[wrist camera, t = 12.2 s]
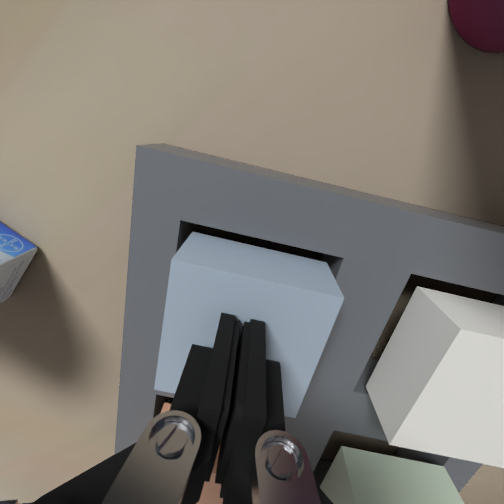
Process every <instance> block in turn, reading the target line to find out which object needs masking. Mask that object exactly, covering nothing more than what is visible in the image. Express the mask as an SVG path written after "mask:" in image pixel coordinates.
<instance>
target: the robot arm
mask: <svg viewBox="0 0 504 504" xmlns="http://www.w3.org/2000/svg"><path fill="white" fill-rule="evenodd" d="M239 327H240V320H236V319H235V315H232V314H227V313H222V312H221V316H220V321H219V325H218V329H217V333H216V337H215V342H214V346H213V348H210V347H205V346H200V345H196V344H192V346H191V349H190V352H189V354H188V357H187V360H186V363H185V366H184V369H183V372H182V375H181V378H180V381H179V384H178V387H177V389H176V392H175V395H174V398H173V401H172V404H171V407H170V410H169V411H166V412H163V413H161V414H158V415H157V416H156V417H154V418H153V419H152V420H151V421H150V422H149V423H148V425H147V426H146V427H145V429H144V431H143V432H142V434H141V436H140V438H139V439H138V441H137V442H136V443H134V444H132V445H131V446H129V447H127V448H125V449H124V450H122V451H120V452H118V453H117V454H115V455H113V456H111V457H110V458H108V459H106V460H104V461H103V462H101V463H99V464H97V465H96V466H94V467H92V468H90V469H89V470H87V471H85V472H83V473H82V474H80V475H78V476H76V477H75V478H73V479H71V480H69V481H68V482H66V483H64V484H62V485H61V486H59V487H57V488H55V489H54V490H52V491H50V492H48V493H47V494H45V495H43V496H42V497H40V498H39V499H38V500H36V501H35V502H32V503H22V504H196V503H197V502H199V500H200V497H201V493H202V489H203V485H204V482H205V481H206V482H209V481H210V478H211V474H212V471H213V467H214V464H215V460H216V456H217V453H218V449H219V455H218V462H217V469H216V476H215V483H217V484H221V490H220V498H223V504H333V502H332V501H331V500H330V499H329V498H328V497H327V496H326V494H325V493H324V492H323V491H322V490H321V489H320V488H319V486H318V485H317V484H316V483H315V479H314V475H313V472H312V468H311V464H310V461H309V457H308V455H307V453H306V450H305V448H304V447H303V446H302V444H301V443H300V441H298V440H297V439H296V438H295V437H294V436H293V435H291V434H289V433H287V432H286V430H285V417H284V404H283V391H282V378H281V366H280V362H278V361H273V360H268V359H266V335H265V322H264V321H259V320H255V319H250V322H244V325H243V328H242V332H241V336H240V340H239V343H238V335H239ZM237 343H238V347H237ZM219 446H220V447H219ZM0 504H18V500H17V499H16V500H6V501H0Z"/></svg>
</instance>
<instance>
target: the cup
mask: <svg viewBox="0 0 504 504" xmlns="http://www.w3.org/2000/svg"><path fill="white" fill-rule="evenodd" d="M448 2H449V10H450V14H451V18H452V21H453V23H454V26H455V28H456V30H457V32H458V33H459V34H460V35H461V37H462V38H463V39H464V40H465V41H466V42H467V43H469V44H470V45H472V46H473V47H475V48H477V49H480V50H482V51H485V52H494V53H501V52H504V0H448Z"/></svg>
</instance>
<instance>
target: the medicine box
mask: <svg viewBox="0 0 504 504" xmlns="http://www.w3.org/2000/svg"><path fill="white" fill-rule="evenodd" d="M36 252H37V247H36V245H35V244H34V243H32V242H31V241H29V240H28V239H26V238H25V237H23V236H22V235H20V234H19V233H17V232H16V231H14V230H12V229H11V228H10V227H8V226H6V225H5V224H3V223H2V222H1V221H0V303H2V302H3V301H5V300H7V299H8V298H9V297H10V296H11V294H12V293H13V291H14V289H15V287H16V286H17V284H18V282H19V281H20V279H21V277H22V276H23V274H24V272H25V270H26V269H27V267H28V265H29V264H30V262H31V260H32V259H33V257H34V255H35V253H36Z"/></svg>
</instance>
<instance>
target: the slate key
mask: <svg viewBox="0 0 504 504" xmlns="http://www.w3.org/2000/svg"><path fill="white" fill-rule="evenodd" d="M343 300H344V296H343V294H342V292H341V290H340V288H339V286H338V284H337V282H336V280H335V278H334V276H333V274H332V272H331V270H330V268H329V266H328V264H327V262H323V261H318V260H314V259H310V258H305V257H301V256H297V255H292V254H288V253H283V252H279V251H275V250H270V249H266V248H262V247H257V246H253V245H249V244H244V243H240V242H236V241H231V240H227V239H223V238H218V237H214V236H210V235H205V234H201V233H197V232H192V233H191V234H190V236H189V237H188V238H187V240H186V241H185V242H184V243H183V245H182V246H181V247H180V249H179V250H178V251H177V253H176V254H175V255H174V257H173V258H172V259H171V266H170V274H169V281H168V289H167V296H166V304H165V311H164V319H163V326H162V334H161V341H160V349H159V356H158V364H157V371H156V379H155V386H154V390H159V391H164V392H169V393H174V394H175V392H176V389H177V387H178V384H179V381H180V378H181V375H182V372H183V369H184V366H185V363H186V360H187V357H188V354H189V352H190V349H191V346H192V344H196V345H200V346H205V347H210V348H213V346H214V342H215V337H216V333H217V329H218V325H219V321H220V316H221V312H222V313H227V314H232V315H235V319H236V320H240V327H239V335H238V343H239V340H240V336H241V332H242V328H243V325H244V322H250V319H255V320H259V321H264V322H265V335H266V359H268V360H273V361H278V362H280V366H281V378H282V391H283V404H284V416H287V417H292V418H296V415H297V413H298V410H299V408H300V406H301V403H302V401H303V398H304V396H305V393H306V391H307V388H308V386H309V384H310V381H311V379H312V376H313V374H314V371H315V369H316V366H317V364H318V362H319V359H320V357H321V354H322V352H323V349H324V347H325V344H326V342H327V340H328V337H329V335H330V332H331V330H332V327H333V325H334V322H335V320H336V318H337V315H338V313H339V310H340V308H341V305H342V303H343ZM238 343H237V347H238Z"/></svg>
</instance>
